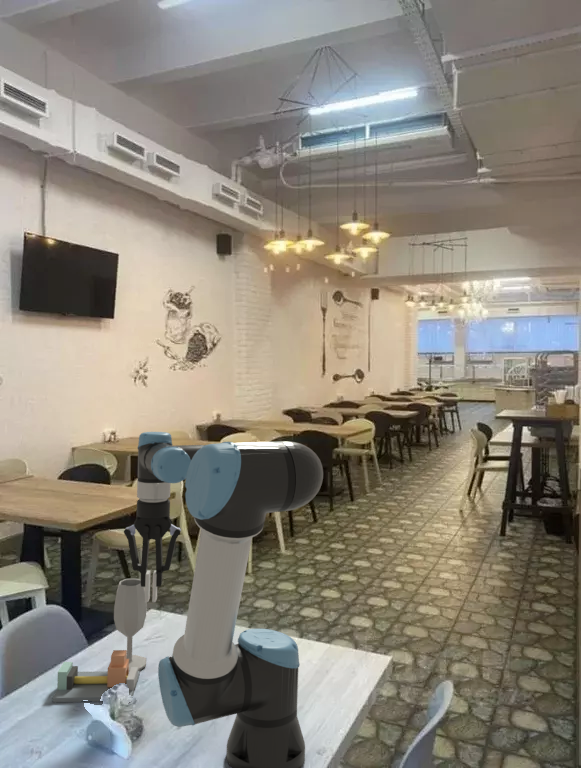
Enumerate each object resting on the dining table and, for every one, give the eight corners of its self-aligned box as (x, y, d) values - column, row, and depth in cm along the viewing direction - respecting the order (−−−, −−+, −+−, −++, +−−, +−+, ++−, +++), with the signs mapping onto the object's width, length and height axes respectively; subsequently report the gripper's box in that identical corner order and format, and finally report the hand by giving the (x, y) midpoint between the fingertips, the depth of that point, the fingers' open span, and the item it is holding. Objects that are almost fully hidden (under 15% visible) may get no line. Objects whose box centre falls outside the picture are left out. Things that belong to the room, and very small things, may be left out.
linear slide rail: (131, 701, 138) (131, 678, 138) (52, 702, 137) (53, 679, 137) (139, 675, 150) (140, 654, 150) (67, 676, 149) (67, 655, 149)
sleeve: (125, 687, 142) (125, 657, 142) (107, 687, 142) (108, 657, 141) (128, 677, 146) (129, 648, 146) (111, 677, 146) (112, 648, 146)
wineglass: (151, 659, 159) (153, 577, 158) (140, 675, 150) (142, 589, 150) (118, 656, 160) (120, 575, 159) (105, 673, 151) (107, 586, 151)
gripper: (185, 496, 148) (182, 594, 149) (125, 495, 147) (123, 594, 147) (182, 502, 141) (180, 606, 141) (119, 501, 140) (117, 606, 140)
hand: (151, 599), depth 144 cm, fingers closed
